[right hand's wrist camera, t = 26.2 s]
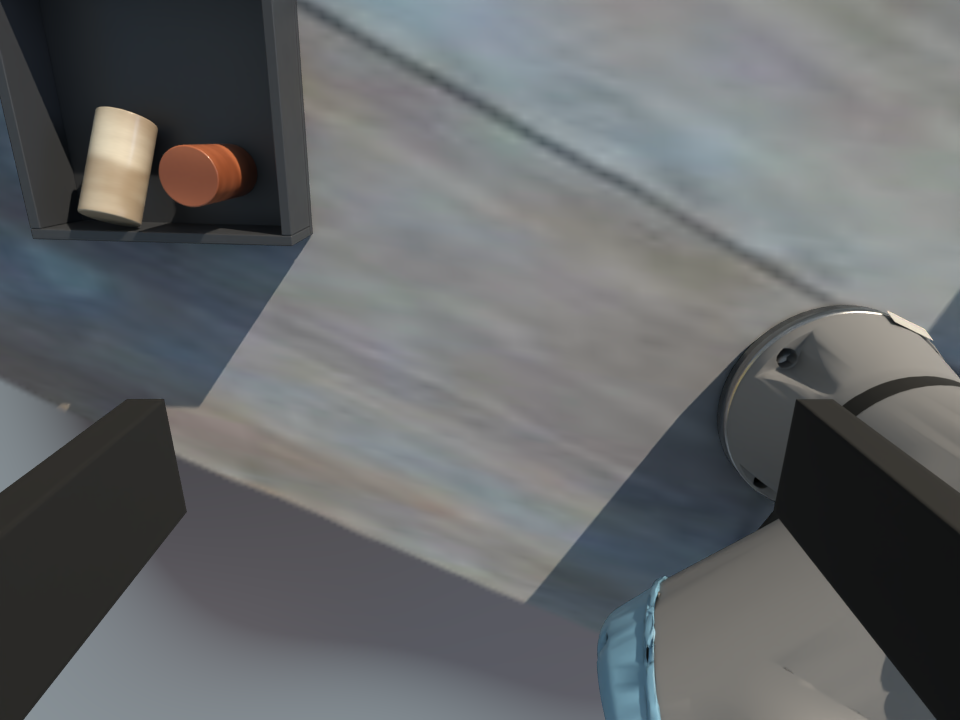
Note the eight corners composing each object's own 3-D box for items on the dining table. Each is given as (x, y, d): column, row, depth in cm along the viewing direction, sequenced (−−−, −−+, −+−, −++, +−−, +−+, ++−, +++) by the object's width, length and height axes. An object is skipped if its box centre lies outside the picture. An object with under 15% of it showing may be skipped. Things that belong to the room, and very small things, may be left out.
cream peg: (169, 133, 36) (153, 229, 36) (122, 129, 37) (105, 224, 37) (133, 108, 33) (114, 213, 33) (81, 103, 34) (63, 207, 33)
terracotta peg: (258, 199, 38) (220, 210, 32) (207, 194, 38) (160, 204, 32) (256, 146, 37) (216, 148, 31) (204, 141, 37) (155, 141, 31)
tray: (312, 234, 39) (292, 246, 35) (81, 228, 39) (32, 239, 35) (280, -237, 31) (247, -297, 27) (-15, -247, 31) (-96, -310, 27)
